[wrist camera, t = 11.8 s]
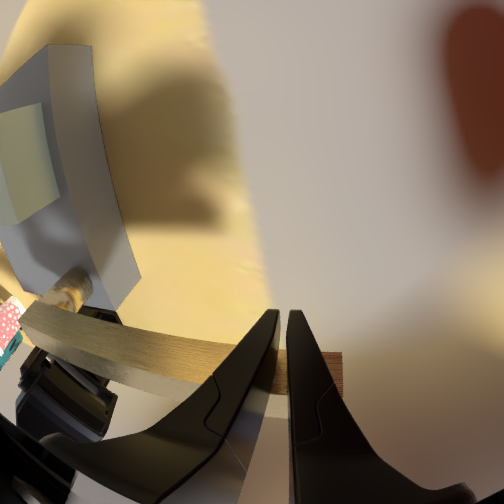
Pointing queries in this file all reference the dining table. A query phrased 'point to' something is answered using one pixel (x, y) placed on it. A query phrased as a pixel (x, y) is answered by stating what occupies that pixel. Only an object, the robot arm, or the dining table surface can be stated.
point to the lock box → (69, 184)
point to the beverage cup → (9, 321)
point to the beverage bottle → (11, 348)
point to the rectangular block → (24, 165)
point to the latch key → (138, 348)
